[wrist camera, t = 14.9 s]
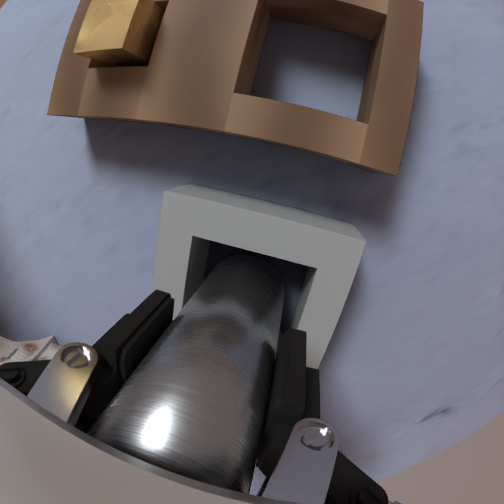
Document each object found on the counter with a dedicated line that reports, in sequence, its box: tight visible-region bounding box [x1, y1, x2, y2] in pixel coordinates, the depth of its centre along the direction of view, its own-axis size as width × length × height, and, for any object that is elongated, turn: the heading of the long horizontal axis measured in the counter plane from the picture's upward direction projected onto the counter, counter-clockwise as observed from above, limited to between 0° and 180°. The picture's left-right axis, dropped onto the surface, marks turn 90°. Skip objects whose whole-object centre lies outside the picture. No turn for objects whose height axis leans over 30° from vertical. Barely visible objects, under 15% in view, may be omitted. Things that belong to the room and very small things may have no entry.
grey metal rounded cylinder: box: [87, 254, 285, 494], centre depth 10 cm, size 4×4×12 cm
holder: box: [152, 184, 366, 369], centre depth 16 cm, size 9×9×4 cm
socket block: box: [47, 0, 424, 176], centre depth 12 cm, size 18×9×4 cm, turn 77°
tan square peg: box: [73, 0, 165, 67], centre depth 11 cm, size 3×3×5 cm
